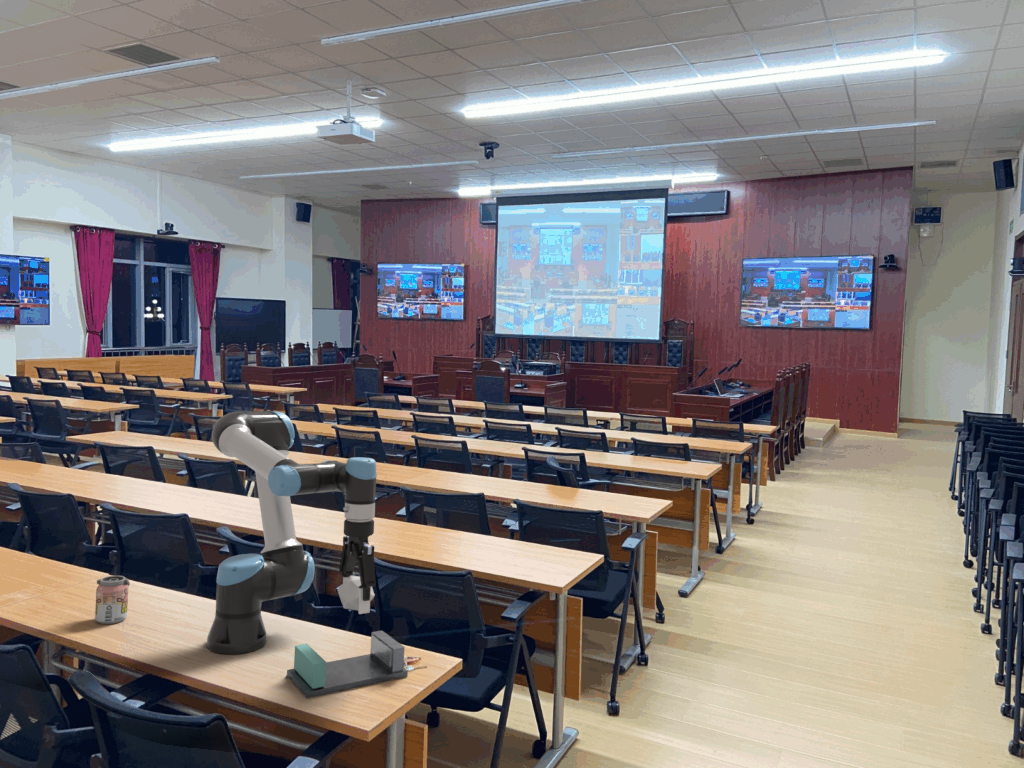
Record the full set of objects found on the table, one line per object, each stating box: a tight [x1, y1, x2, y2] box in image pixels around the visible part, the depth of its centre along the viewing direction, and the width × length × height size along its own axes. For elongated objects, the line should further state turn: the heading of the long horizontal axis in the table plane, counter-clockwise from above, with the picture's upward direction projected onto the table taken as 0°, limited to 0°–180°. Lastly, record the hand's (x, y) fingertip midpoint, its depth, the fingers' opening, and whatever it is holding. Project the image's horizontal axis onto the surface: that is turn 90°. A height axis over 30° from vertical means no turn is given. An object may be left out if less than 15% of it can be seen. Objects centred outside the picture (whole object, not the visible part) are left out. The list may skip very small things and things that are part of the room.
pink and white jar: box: [94, 575, 131, 625], centre depth 213 cm, size 9×8×12 cm
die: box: [337, 575, 376, 611], centre depth 187 cm, size 8×9×10 cm
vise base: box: [286, 630, 409, 699], centre depth 184 cm, size 14×26×8 cm, turn 125°
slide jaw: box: [293, 643, 327, 689], centre depth 178 cm, size 13×3×6 cm, turn 35°
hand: (355, 607), depth 187 cm, fingers closed on die, 9 cm apart
